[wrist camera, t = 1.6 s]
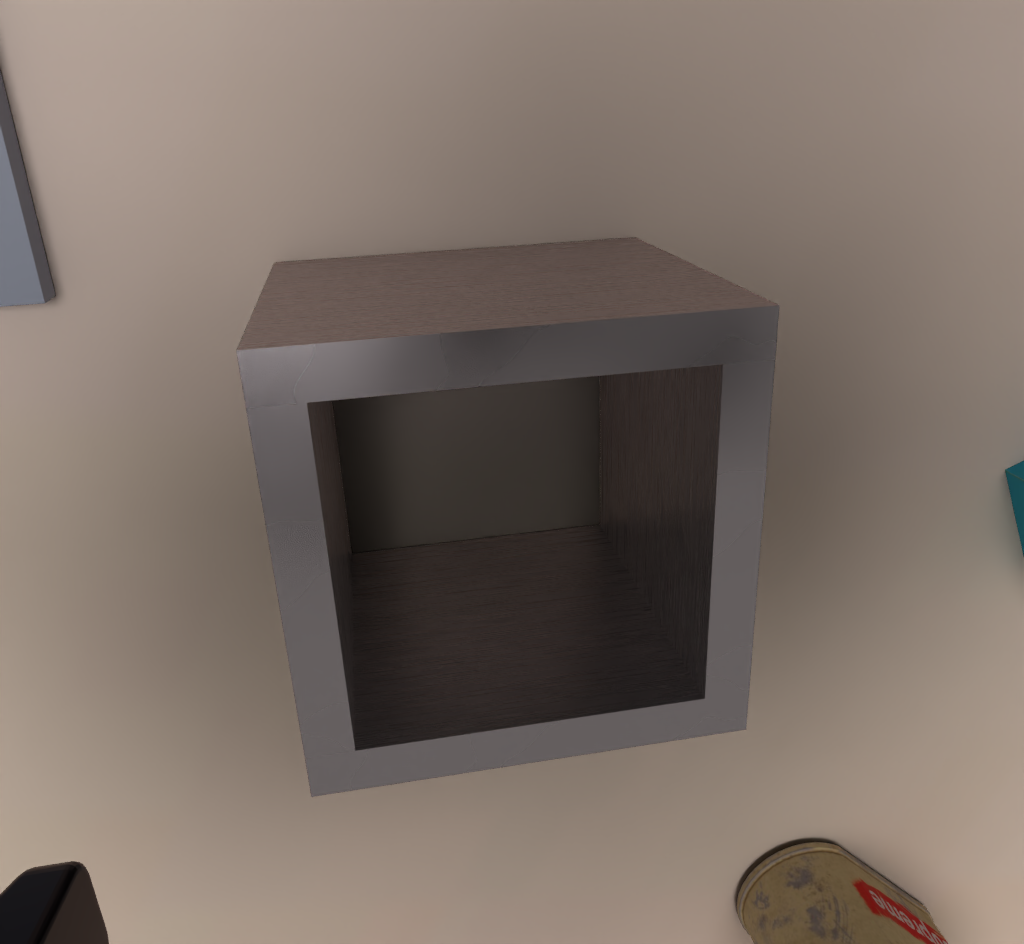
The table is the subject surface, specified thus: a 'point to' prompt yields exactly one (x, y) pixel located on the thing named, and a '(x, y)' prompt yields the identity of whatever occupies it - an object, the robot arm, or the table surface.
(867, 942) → the old metal can
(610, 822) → the table surface
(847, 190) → the table surface
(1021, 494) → the multicoloured triangular frame
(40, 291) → the grey peg stand
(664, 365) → the collar
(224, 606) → the table surface
